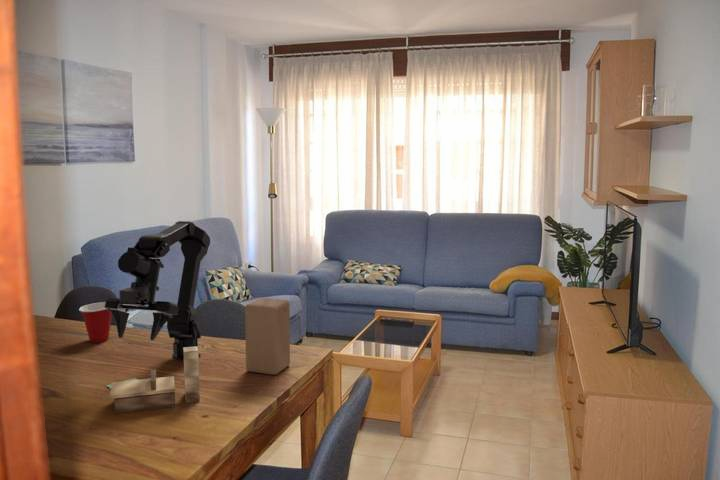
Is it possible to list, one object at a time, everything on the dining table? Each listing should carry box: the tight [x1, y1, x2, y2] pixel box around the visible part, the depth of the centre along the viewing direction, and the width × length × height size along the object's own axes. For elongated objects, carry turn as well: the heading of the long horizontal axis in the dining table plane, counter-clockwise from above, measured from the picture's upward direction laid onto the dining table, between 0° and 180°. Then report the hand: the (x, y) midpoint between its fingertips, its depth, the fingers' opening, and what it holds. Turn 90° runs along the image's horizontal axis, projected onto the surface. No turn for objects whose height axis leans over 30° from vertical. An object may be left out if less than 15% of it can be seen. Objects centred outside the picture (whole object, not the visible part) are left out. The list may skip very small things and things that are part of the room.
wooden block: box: [244, 297, 291, 376], centre depth 178 cm, size 10×10×20 cm
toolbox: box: [113, 391, 200, 414], centre depth 154 cm, size 20×9×4 cm, turn 108°
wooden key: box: [183, 346, 201, 402], centre depth 156 cm, size 4×4×13 cm
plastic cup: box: [78, 301, 113, 343], centre depth 204 cm, size 11×11×12 cm
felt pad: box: [106, 377, 139, 390], centre depth 164 cm, size 8×8×1 cm
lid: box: [109, 369, 176, 400], centre depth 153 cm, size 15×9×3 cm, turn 108°
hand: (136, 339), depth 161 cm, fingers open, 9 cm apart
